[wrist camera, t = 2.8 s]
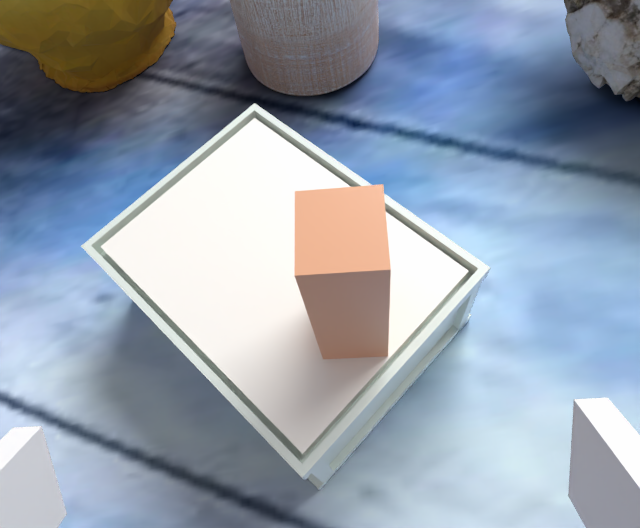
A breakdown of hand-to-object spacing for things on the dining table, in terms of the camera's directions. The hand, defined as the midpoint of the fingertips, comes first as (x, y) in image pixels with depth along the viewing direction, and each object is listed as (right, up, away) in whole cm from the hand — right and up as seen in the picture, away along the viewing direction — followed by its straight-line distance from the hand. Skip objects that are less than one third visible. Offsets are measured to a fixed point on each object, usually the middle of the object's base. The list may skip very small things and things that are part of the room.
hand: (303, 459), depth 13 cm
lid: (-2, +5, +15) cm, 16 cm away
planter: (0, +22, +31) cm, 38 cm away
